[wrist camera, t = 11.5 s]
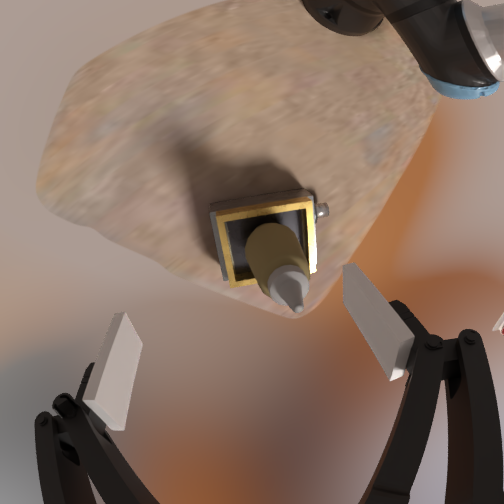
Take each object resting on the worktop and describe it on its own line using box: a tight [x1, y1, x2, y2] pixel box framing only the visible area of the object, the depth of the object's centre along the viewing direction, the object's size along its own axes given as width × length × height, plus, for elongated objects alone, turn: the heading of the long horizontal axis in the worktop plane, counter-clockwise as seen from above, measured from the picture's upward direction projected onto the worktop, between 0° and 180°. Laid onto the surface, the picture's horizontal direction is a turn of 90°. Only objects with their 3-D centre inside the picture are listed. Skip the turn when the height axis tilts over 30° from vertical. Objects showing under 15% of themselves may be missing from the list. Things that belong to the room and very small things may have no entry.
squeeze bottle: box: [245, 223, 310, 313], centre depth 36 cm, size 8×8×18 cm
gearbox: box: [209, 189, 329, 288], centre depth 46 cm, size 19×12×8 cm, turn 98°
